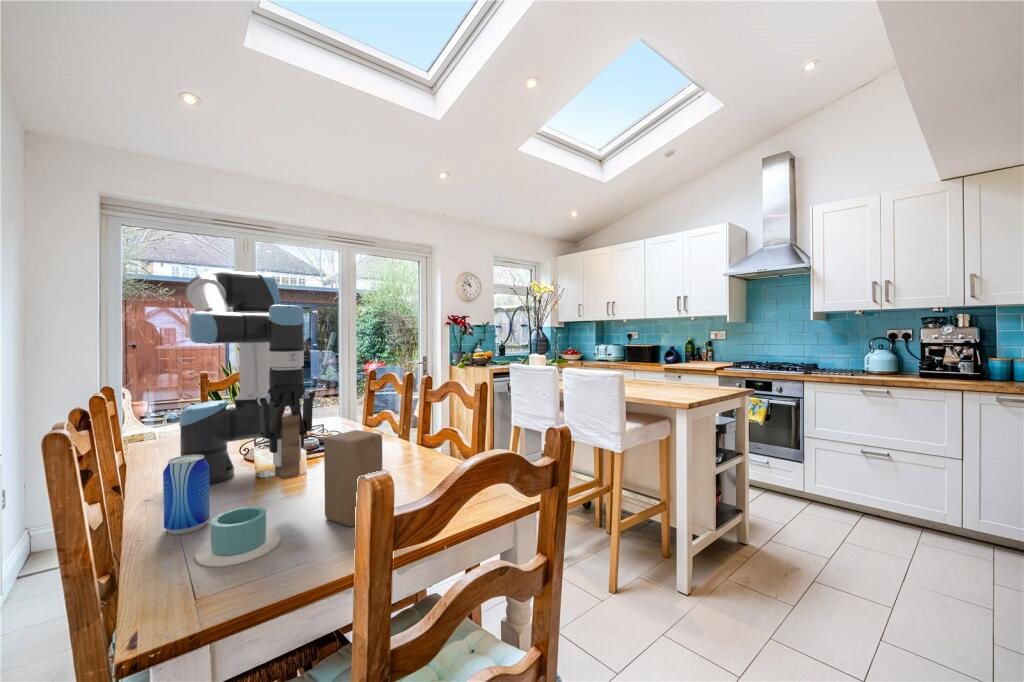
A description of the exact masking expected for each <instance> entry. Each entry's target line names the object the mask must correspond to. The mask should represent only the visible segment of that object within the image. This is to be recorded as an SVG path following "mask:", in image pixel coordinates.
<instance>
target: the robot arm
mask: <svg viewBox="0 0 1024 682" xmlns="http://www.w3.org/2000/svg"><path fill="white" fill-rule="evenodd" d="M278 286H279V285H278V283H277V281H276V278H275V277H274V276H273V275H271V274H268V273H263V272H262V273H261V272H251V271H249V272H248V271H238V270H237V271H234V270H225V269H215V270H209V271H206V272H202V273H199V274H198V275H196V276H195V277H193V278H192V279H191V280H190V281H189V282H188V284H187V285H186V289H185V295H186V298H187V301H188V302H189V303H190V304H191V305H192V306H193V309H194V312H191V313H190V314H189V327H188V328H189V339H190V341H191V342H192V343H194V344H207V345H212V344H238V357H239V360H238V362H239V364H238V365H239V370H238V371H239V393H238V394H237V395H236V396H235V397H234V398H233V399H234V401H233V404H228V402H227V401H226V400H212V401H205V402H201V403H195V404H192V405H190V406H186V407H185V408H183V409H182V411H181V412H180V415H179V416H180V417H179V418H180V419H179V423H178V426H179V427H180V430H179V431H180V436H179V437H180V440H179V441H180V447H179V448H180V449H179V450H180V456H185V455H204V459H205V460H206V461H207V463H208V464H209V486H210V485H213V484H217V483H218V484H219V483H221V482H224V481H227V480H229V479H231V478H232V477H234V475H235V467H234V464H233V462H232V459H231V457H230V454H229V451H228V443H229V442H235V441H236V442H237V441H242V440H251V439H257V438H260V439H262V438H263V439H267V440H268V441H269V444H268V447H269V448H268V449H269V453H271V454H272V464H273V466H275V465H276V466H278V467H279V466H282V439H280V438H278V436H279V431H280V426H281V417H282V416H283V414H284V412H285V410H286V407H289V409H290V413H292V414H296V415H297V414H298V415H299V456H300V462H302V447H305V435H307V433H308V431H312V429H313V408H314V407H313V405H314V399H315V396H316V392H315V391H310V390H306V387H304V381H305V369H303V368H302V367H304V365H305V364H304V363H305V362H304V361H305V360H304V358H305V357H304V355H305V353H304V352H305V351H304V348H305V347H304V344H305V342H304V341H305V340H304V339H305V338H304V336H305V333H304V331H305V328H304V325H305V323H304V322H305V318H304V309H303V306H300V305H292V304H291V305H290V304H289V305H288V304H286V305H285V304H281V303H280V302H281V301H280V300H281V297H280V291H279V287H278ZM231 308H232V311H231ZM302 398H303V400H302V401H303V402H302V406H301V401H300V400H301V399H302ZM301 407H302V410H301Z"/></svg>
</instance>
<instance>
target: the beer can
mask: <svg viewBox="0 0 1024 682" xmlns="http://www.w3.org/2000/svg"><path fill="white" fill-rule="evenodd" d="M162 477H163V478H162V483H163V489H162V491H163V493H162V494H163V528H164V529H165V530H166V531H167V532H168V534H171V535H182V534H183V535H184V534H188V533H192V532H195V531H197V530H198V531H199V530H201V529H202V528H204V527H206V525H207V523H208V522H209V520H210V519H211V518H210V517H211V514H210V513H211V508H210V507H211V506H210V502H211V501H210V496H211V495H210V485H209V464H208V463H207V461H206V460H205V459H204V455H185V456H181V455H180V456H176V457H173V458H170V459H169V460H168V462H167V465H166V467H165V468H164V469H163V472H162Z"/></svg>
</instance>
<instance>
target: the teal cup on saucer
mask: <svg viewBox="0 0 1024 682" xmlns="http://www.w3.org/2000/svg"><path fill="white" fill-rule="evenodd" d="M280 543H281V534H280V532H279V531H277V530H276V529H271V528H267V509H265V508H263V507H262V506H246V507H238V508H234V509H230V510H228V511H224V512H221V513H220V514H217V515H216V516H214V517H213V518H212V519H211V521H210V541H207V542H206V543H204V544H203V545H201V546H200V547H199V548H198V549H197V551H196V552H195V554H194V560H195V562H196V563H197V564H198V565H200V566H203V567H206V568H207V567H208V568H222V567H231V566H236V565H240V564H245V563H247V562H250V561H254V560H257V559H258V558H261V557H262V556H265V555H267V554H269V553H270V552H272V551H273V550H274V549H275V548H277V546H279V544H280Z"/></svg>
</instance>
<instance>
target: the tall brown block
mask: <svg viewBox="0 0 1024 682" xmlns="http://www.w3.org/2000/svg"><path fill="white" fill-rule="evenodd" d="M278 438H280V439H282V466H279V467H278V466H276V465H274V476H275V477H278V478H279V479H282V480H286V479H290V478H294V477H297V476H300V474H301V473H300V466H301V465H300V462H301V461H300V456H299V415H298V414H297V415H296V414H292V413H291V412H287V413H283V416H282V417H281V426H280V431H279V436H278Z"/></svg>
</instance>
